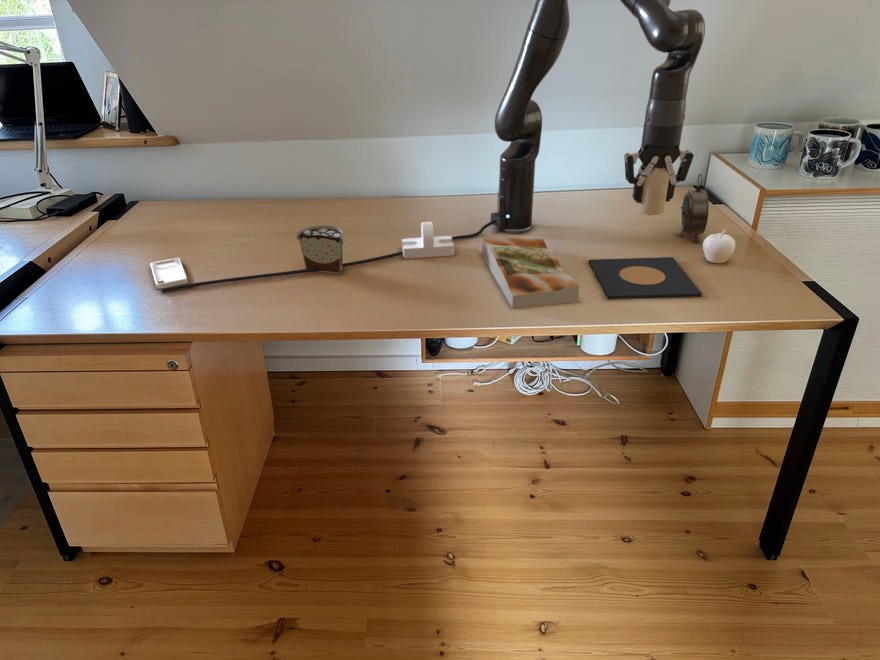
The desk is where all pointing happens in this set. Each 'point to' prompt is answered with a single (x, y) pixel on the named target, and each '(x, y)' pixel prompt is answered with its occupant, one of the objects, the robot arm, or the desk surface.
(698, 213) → the alarm clock
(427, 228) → the slotted bracket
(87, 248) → the desk surface
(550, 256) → the topographic model
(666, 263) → the mat
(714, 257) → the plain white apple
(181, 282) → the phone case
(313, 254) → the food container
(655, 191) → the candle
